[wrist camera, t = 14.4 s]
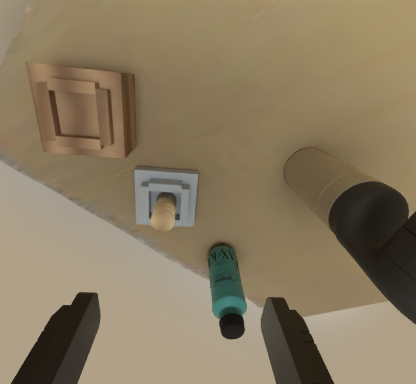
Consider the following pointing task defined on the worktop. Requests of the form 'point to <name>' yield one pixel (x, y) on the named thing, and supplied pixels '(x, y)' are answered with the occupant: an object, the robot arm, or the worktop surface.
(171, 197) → the birch peg
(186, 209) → the slate dock
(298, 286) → the worktop surface
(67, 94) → the walnut dock
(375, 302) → the worktop surface
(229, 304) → the beverage bottle
